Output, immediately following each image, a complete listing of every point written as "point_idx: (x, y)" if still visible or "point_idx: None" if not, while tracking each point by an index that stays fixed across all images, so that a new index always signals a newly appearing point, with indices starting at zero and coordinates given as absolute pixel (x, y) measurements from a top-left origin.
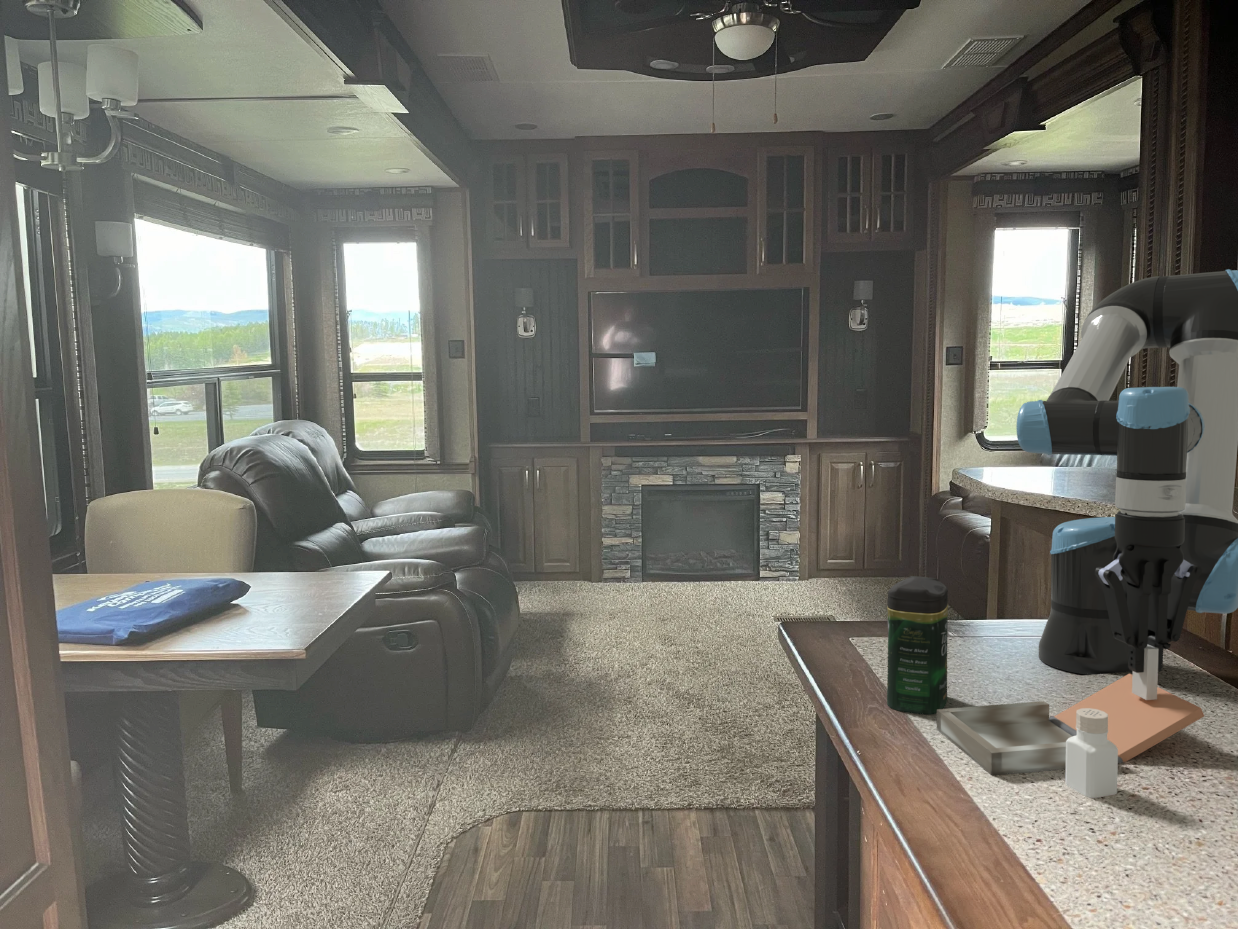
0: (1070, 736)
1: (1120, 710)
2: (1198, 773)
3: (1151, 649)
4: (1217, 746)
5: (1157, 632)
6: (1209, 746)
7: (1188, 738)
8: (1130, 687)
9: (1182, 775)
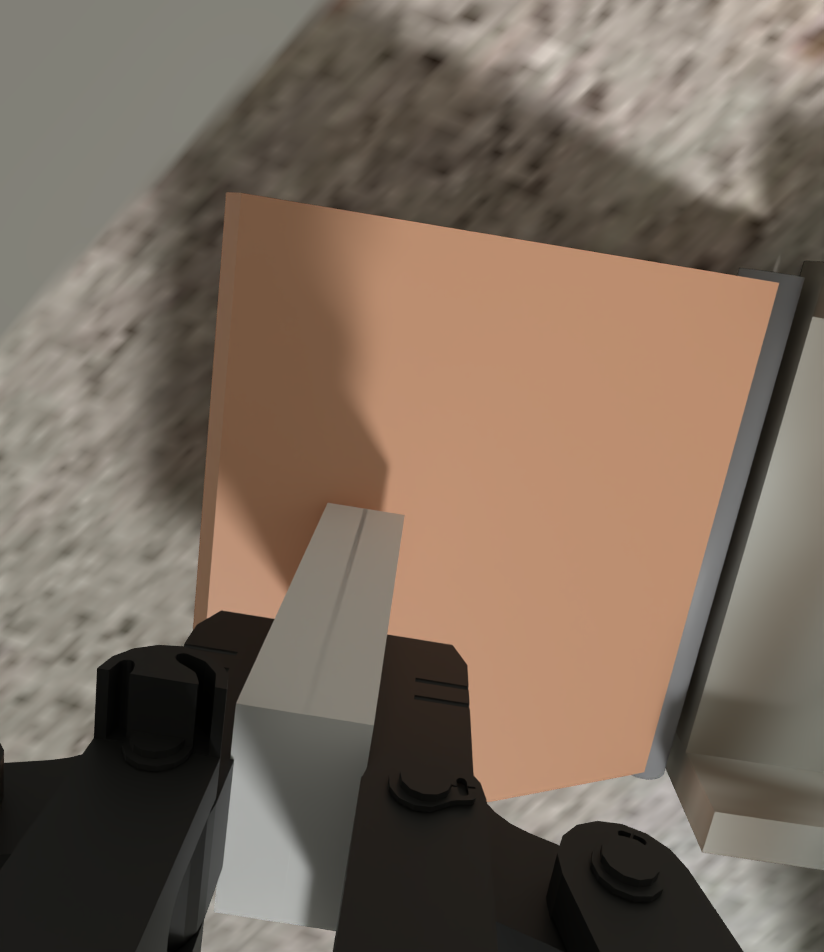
0: (749, 578)
1: (487, 587)
2: (429, 95)
3: (323, 718)
4: (85, 323)
5: (168, 876)
6: (121, 336)
7: (144, 444)
8: None
9: (523, 103)
